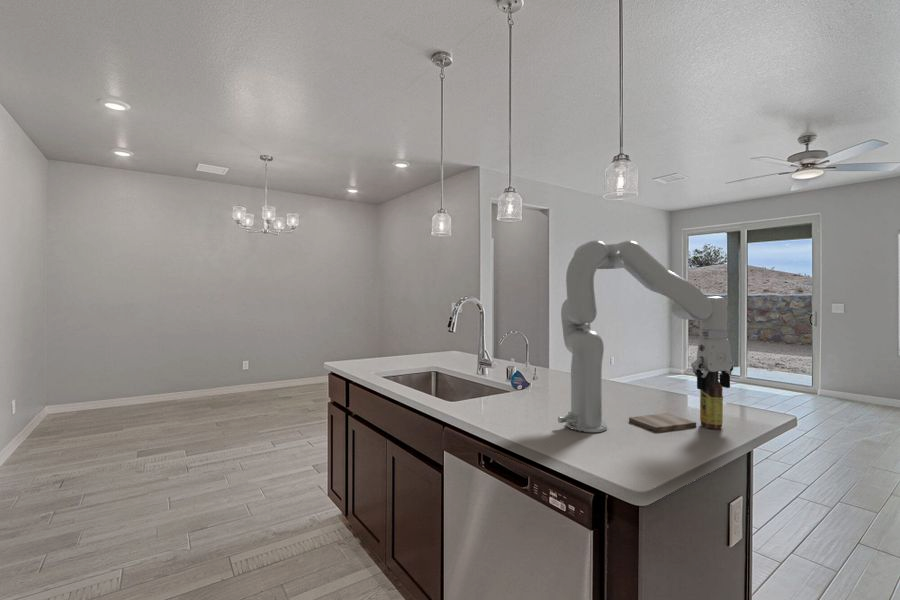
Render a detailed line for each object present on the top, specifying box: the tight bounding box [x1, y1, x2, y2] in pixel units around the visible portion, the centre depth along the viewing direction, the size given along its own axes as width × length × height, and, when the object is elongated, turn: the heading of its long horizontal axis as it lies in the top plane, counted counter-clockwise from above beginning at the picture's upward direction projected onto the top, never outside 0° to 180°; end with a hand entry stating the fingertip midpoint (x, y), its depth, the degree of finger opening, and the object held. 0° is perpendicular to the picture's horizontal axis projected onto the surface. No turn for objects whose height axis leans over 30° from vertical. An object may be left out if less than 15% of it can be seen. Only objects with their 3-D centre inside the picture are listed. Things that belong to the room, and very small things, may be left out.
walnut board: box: [628, 412, 697, 433], centre depth 144 cm, size 16×12×2 cm
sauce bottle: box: [699, 371, 724, 430], centre depth 141 cm, size 6×6×20 cm
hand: (713, 388), depth 140 cm, fingers open, 9 cm apart
